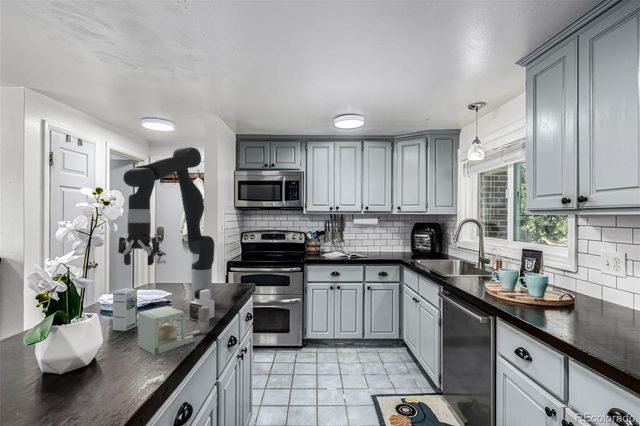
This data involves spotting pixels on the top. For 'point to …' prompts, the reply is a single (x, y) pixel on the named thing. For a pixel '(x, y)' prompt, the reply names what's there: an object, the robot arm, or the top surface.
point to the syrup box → (124, 309)
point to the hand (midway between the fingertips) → (138, 264)
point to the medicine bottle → (201, 303)
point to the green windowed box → (150, 329)
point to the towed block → (170, 333)
